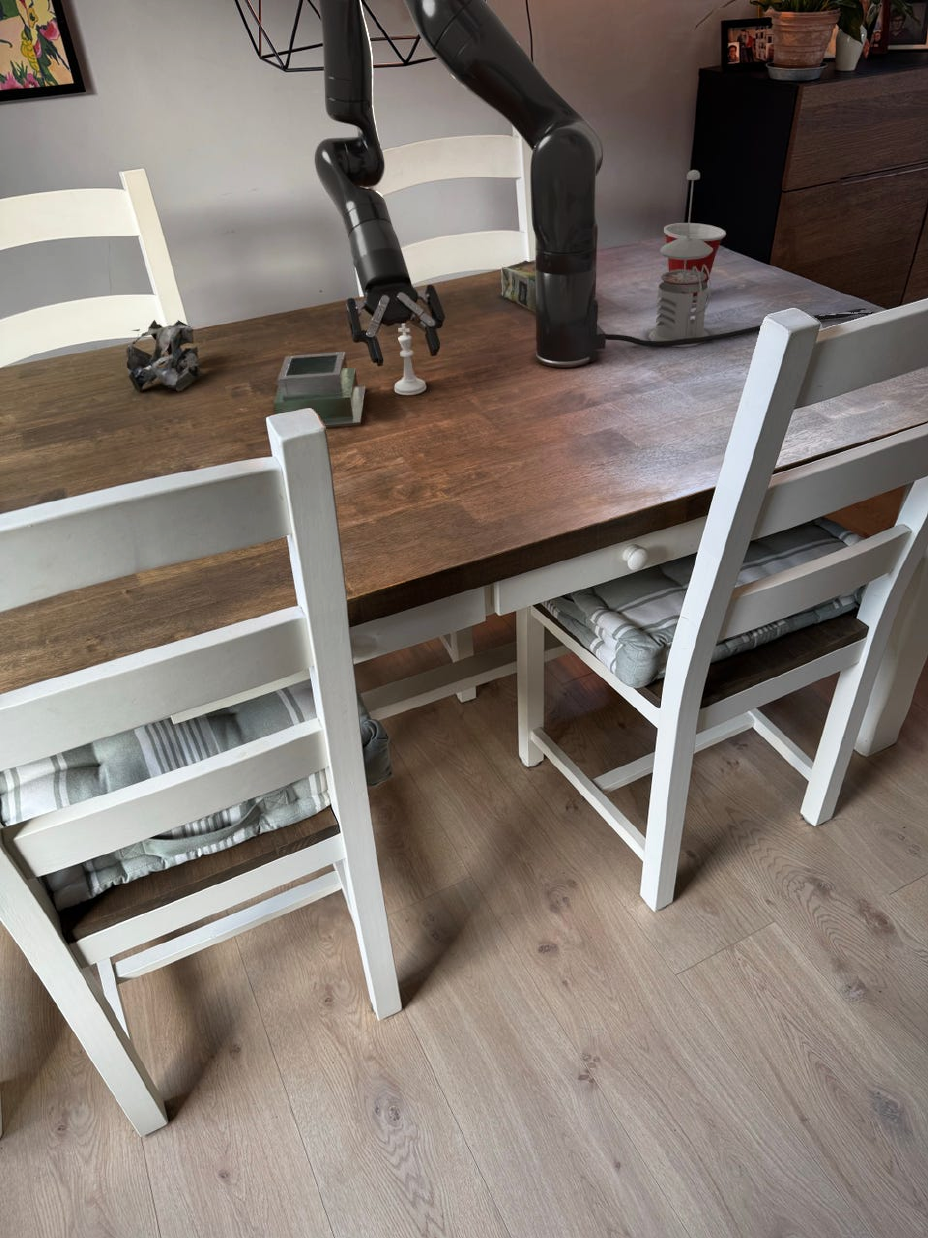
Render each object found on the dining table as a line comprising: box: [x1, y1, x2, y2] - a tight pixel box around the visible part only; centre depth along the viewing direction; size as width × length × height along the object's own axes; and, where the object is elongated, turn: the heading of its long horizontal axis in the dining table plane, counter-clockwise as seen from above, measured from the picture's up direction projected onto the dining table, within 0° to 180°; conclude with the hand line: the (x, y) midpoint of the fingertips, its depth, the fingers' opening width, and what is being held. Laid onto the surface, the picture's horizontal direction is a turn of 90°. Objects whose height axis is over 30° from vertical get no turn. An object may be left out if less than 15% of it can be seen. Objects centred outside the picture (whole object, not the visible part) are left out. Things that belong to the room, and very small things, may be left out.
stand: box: [272, 351, 366, 429], centre depth 126 cm, size 13×13×7 cm
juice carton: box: [500, 259, 536, 314], centre depth 158 cm, size 20×10×6 cm, turn 27°
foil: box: [125, 319, 204, 393], centre depth 140 cm, size 12×11×15 cm
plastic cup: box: [663, 222, 727, 303], centre depth 154 cm, size 11×11×12 cm
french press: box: [648, 169, 713, 348], centre depth 134 cm, size 10×12×25 cm
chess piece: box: [394, 323, 427, 396], centre depth 129 cm, size 5×5×10 cm
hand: (408, 358), depth 128 cm, fingers open, 8 cm apart
